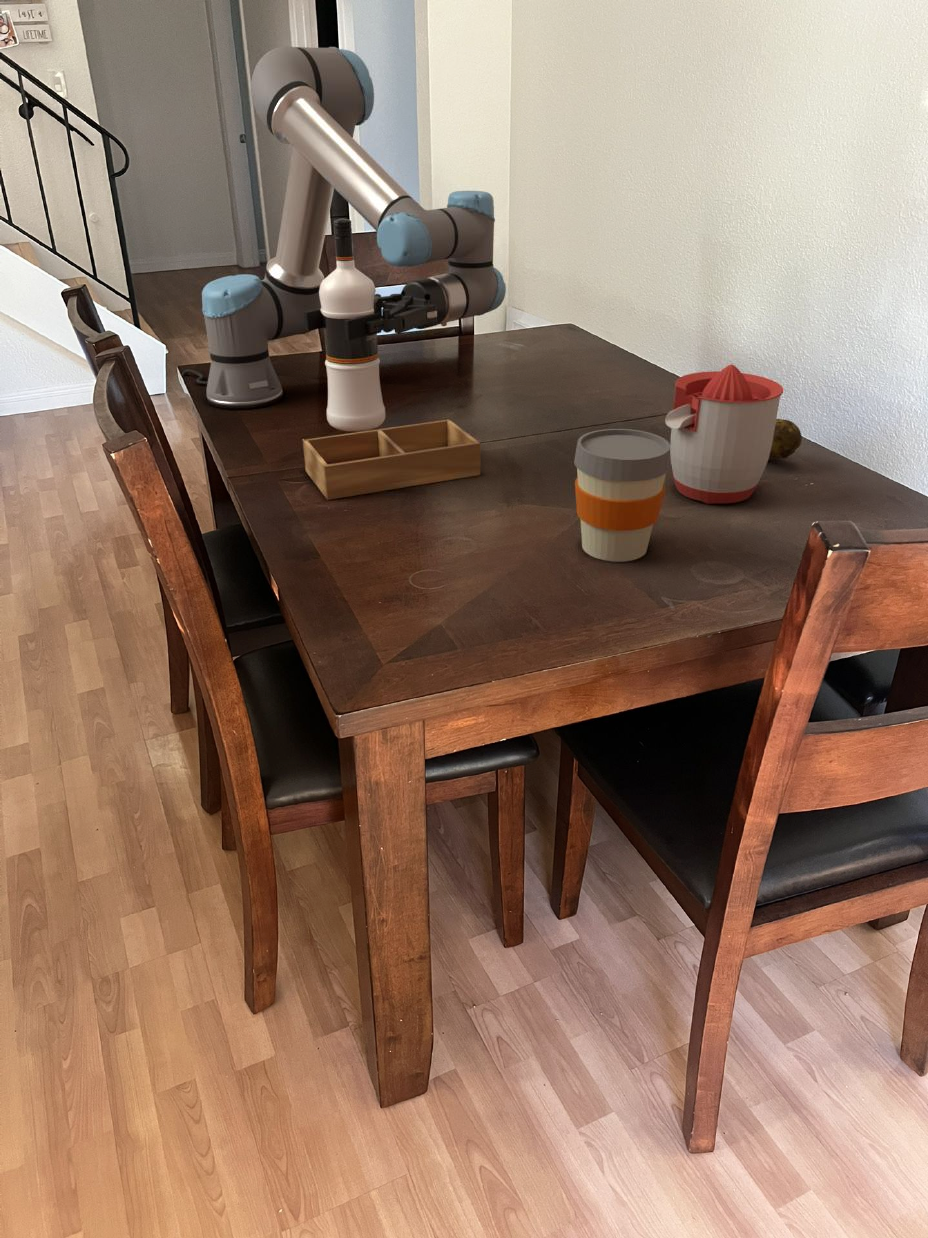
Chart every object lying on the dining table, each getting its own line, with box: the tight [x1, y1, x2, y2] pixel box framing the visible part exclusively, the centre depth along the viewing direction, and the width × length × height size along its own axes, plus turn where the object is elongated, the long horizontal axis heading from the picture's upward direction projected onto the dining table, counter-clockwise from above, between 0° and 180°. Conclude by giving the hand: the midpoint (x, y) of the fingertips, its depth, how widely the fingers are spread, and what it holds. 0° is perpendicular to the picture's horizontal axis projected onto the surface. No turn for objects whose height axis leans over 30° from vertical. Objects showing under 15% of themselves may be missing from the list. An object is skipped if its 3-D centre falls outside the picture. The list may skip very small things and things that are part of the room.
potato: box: [768, 418, 803, 461], centre depth 152 cm, size 8×13×8 cm, turn 12°
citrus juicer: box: [664, 363, 784, 505], centre depth 136 cm, size 16×17×20 cm
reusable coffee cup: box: [573, 428, 671, 563], centre depth 121 cm, size 13×13×15 cm
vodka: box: [319, 218, 386, 433], centre depth 135 cm, size 9×9×30 cm
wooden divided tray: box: [302, 419, 481, 501], centre depth 148 cm, size 13×26×6 cm, turn 113°
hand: (326, 325), depth 132 cm, fingers closed on vodka, 8 cm apart
